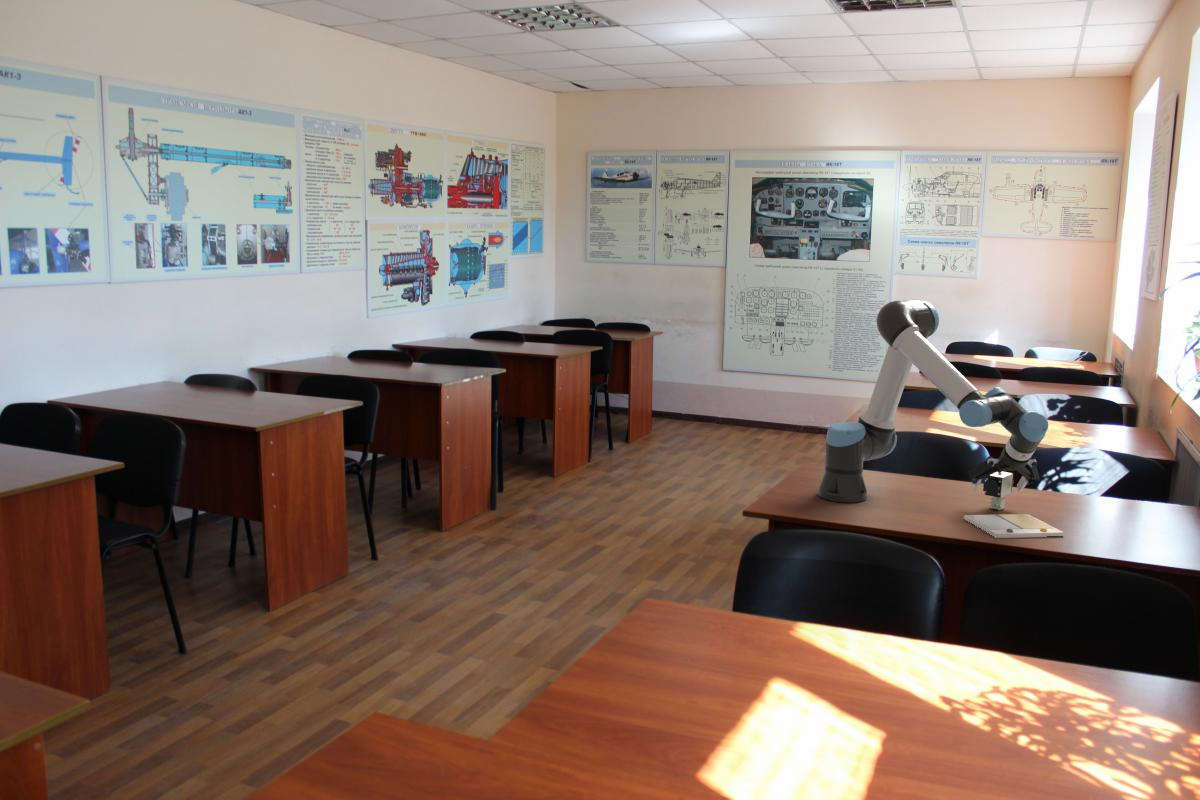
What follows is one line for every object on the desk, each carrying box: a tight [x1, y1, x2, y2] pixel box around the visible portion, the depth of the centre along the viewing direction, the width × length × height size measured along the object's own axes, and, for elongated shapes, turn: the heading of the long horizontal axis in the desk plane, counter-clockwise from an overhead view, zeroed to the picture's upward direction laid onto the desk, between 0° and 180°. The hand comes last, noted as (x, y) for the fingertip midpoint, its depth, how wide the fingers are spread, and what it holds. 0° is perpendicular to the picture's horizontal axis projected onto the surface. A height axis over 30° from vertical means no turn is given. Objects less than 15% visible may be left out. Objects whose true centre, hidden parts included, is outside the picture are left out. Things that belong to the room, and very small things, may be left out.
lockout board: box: [963, 513, 1065, 539], centre depth 272 cm, size 18×20×2 cm
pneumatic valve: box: [982, 471, 1015, 511], centre depth 292 cm, size 6×12×12 cm, turn 135°
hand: (996, 488), depth 293 cm, fingers open, 13 cm apart
